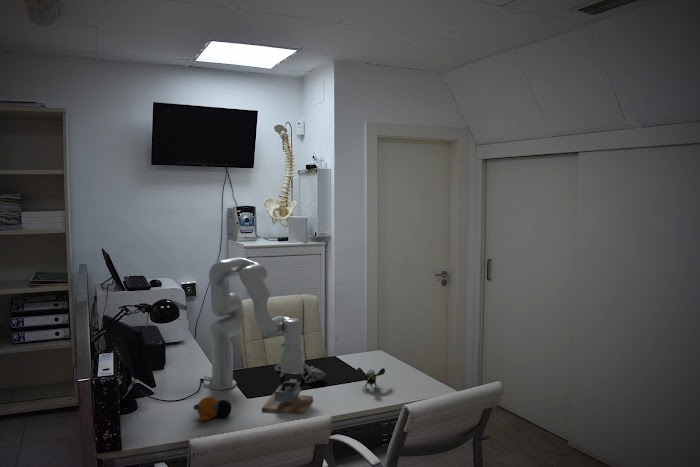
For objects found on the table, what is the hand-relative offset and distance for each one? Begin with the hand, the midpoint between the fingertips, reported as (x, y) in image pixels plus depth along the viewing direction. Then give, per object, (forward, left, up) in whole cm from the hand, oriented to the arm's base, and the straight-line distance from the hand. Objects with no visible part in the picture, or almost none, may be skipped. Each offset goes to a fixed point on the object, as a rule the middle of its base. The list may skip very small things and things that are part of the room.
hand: (292, 385), depth 251 cm
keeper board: (0, -7, -6) cm, 10 cm away
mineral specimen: (+5, +24, -6) cm, 25 cm away
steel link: (0, -6, -2) cm, 7 cm away
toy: (-27, -27, -6) cm, 39 cm away
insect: (+33, +18, -6) cm, 38 cm away
